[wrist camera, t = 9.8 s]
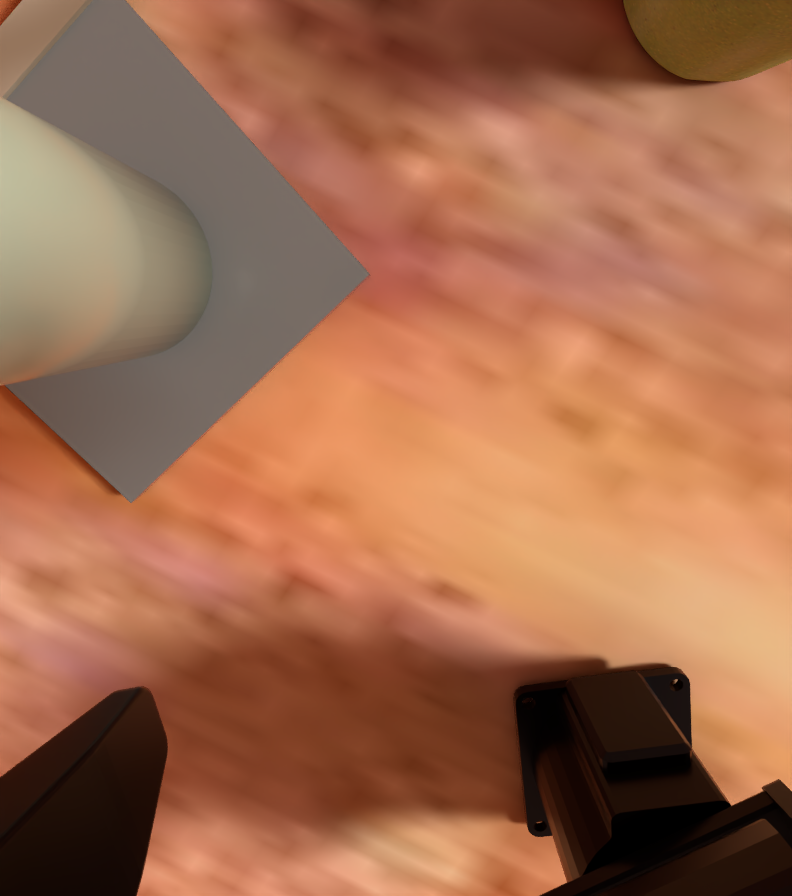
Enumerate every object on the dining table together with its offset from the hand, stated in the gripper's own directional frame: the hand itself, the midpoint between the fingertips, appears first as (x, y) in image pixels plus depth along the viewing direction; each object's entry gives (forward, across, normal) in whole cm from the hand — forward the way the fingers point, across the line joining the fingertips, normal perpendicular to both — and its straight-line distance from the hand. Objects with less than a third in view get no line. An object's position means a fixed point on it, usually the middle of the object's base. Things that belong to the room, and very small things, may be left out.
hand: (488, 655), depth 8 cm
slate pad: (+14, +8, -6) cm, 17 cm away
